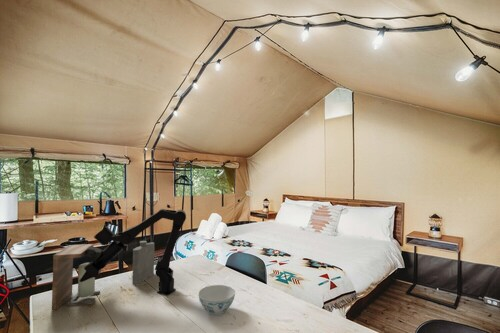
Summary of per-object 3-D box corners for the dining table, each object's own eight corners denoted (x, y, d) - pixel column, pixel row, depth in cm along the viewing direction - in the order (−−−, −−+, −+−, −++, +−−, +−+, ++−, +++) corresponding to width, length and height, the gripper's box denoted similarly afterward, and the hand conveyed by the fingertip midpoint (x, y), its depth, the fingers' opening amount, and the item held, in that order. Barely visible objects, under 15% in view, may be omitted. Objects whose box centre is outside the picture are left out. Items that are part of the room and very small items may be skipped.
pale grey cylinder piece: (96, 294, 118) (97, 265, 119) (79, 298, 114) (80, 268, 114) (92, 289, 123) (93, 261, 123) (76, 294, 118) (77, 264, 119)
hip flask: (136, 285, 134) (137, 245, 134) (129, 284, 135) (130, 244, 135) (154, 273, 149) (155, 238, 150) (148, 273, 150) (149, 237, 151)
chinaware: (192, 309, 110) (192, 290, 110) (222, 299, 119) (223, 282, 119) (209, 325, 98) (209, 304, 98) (242, 313, 107) (242, 294, 108)
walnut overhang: (101, 290, 127) (103, 243, 128) (90, 306, 111) (91, 253, 112) (68, 293, 124) (69, 245, 124) (51, 310, 108) (53, 255, 109)
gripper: (103, 235, 129) (77, 259, 126) (90, 245, 111) (59, 274, 108) (120, 250, 131) (95, 275, 128) (110, 263, 113) (80, 291, 110)
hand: (83, 278), depth 118 cm, fingers closed on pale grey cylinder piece, 6 cm apart
